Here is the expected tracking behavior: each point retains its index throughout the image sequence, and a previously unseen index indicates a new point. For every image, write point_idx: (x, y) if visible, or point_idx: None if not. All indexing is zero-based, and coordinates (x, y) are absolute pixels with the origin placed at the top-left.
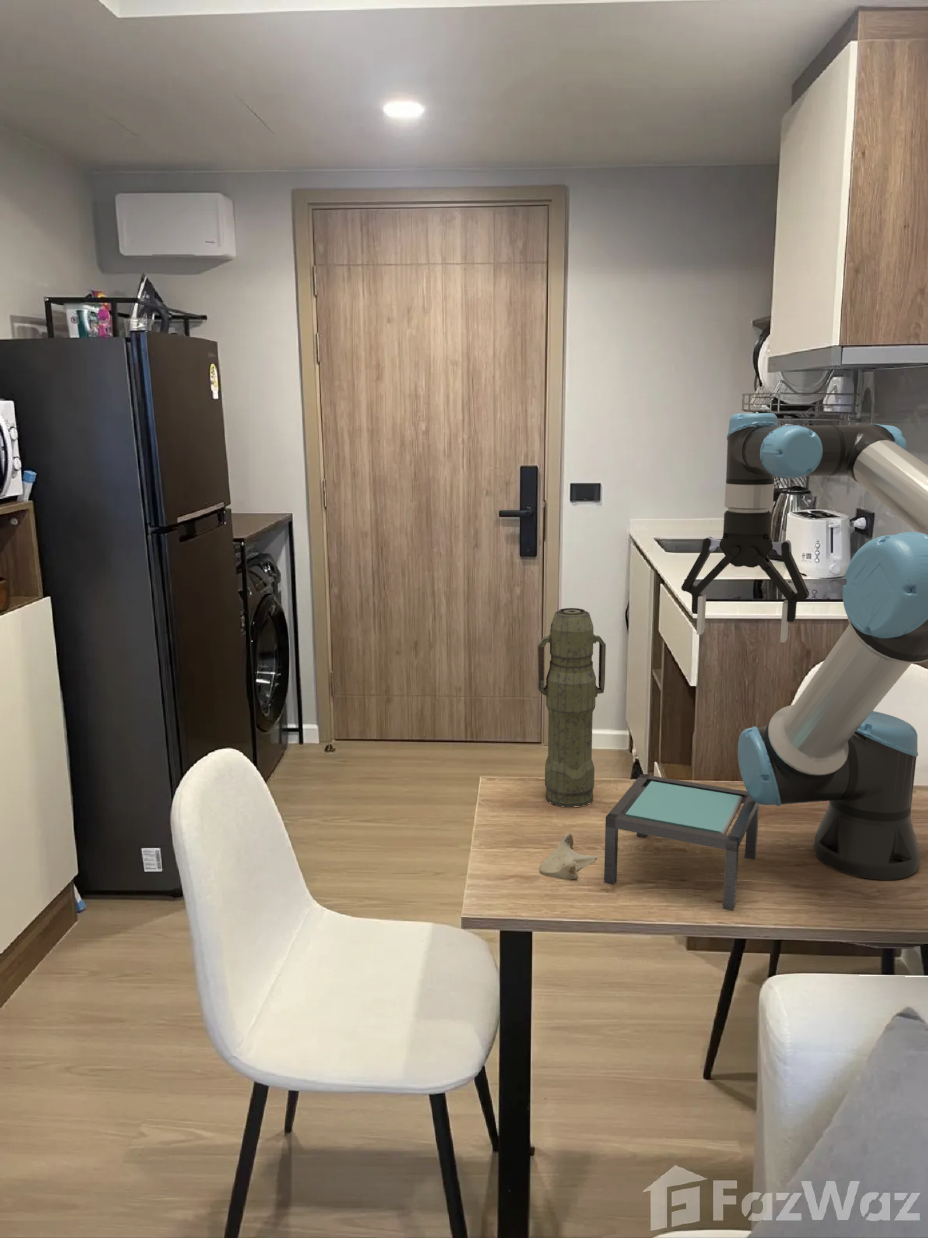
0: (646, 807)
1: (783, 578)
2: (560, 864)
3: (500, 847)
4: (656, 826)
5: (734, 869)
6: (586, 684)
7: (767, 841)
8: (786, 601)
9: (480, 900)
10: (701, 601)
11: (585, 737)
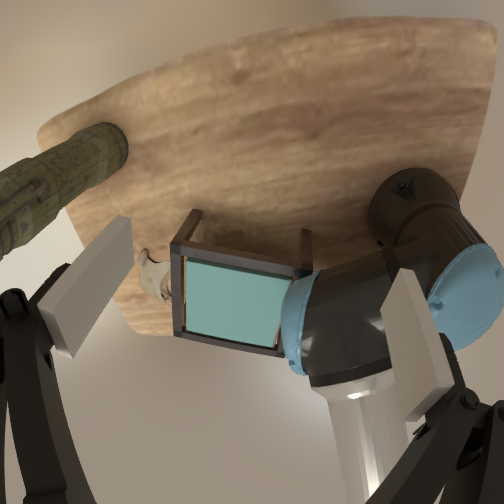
0: (199, 317)
1: (439, 488)
2: (154, 291)
3: None
4: (217, 345)
5: None
6: (33, 234)
7: (325, 196)
8: (430, 400)
9: (130, 322)
10: (78, 344)
11: (79, 190)
